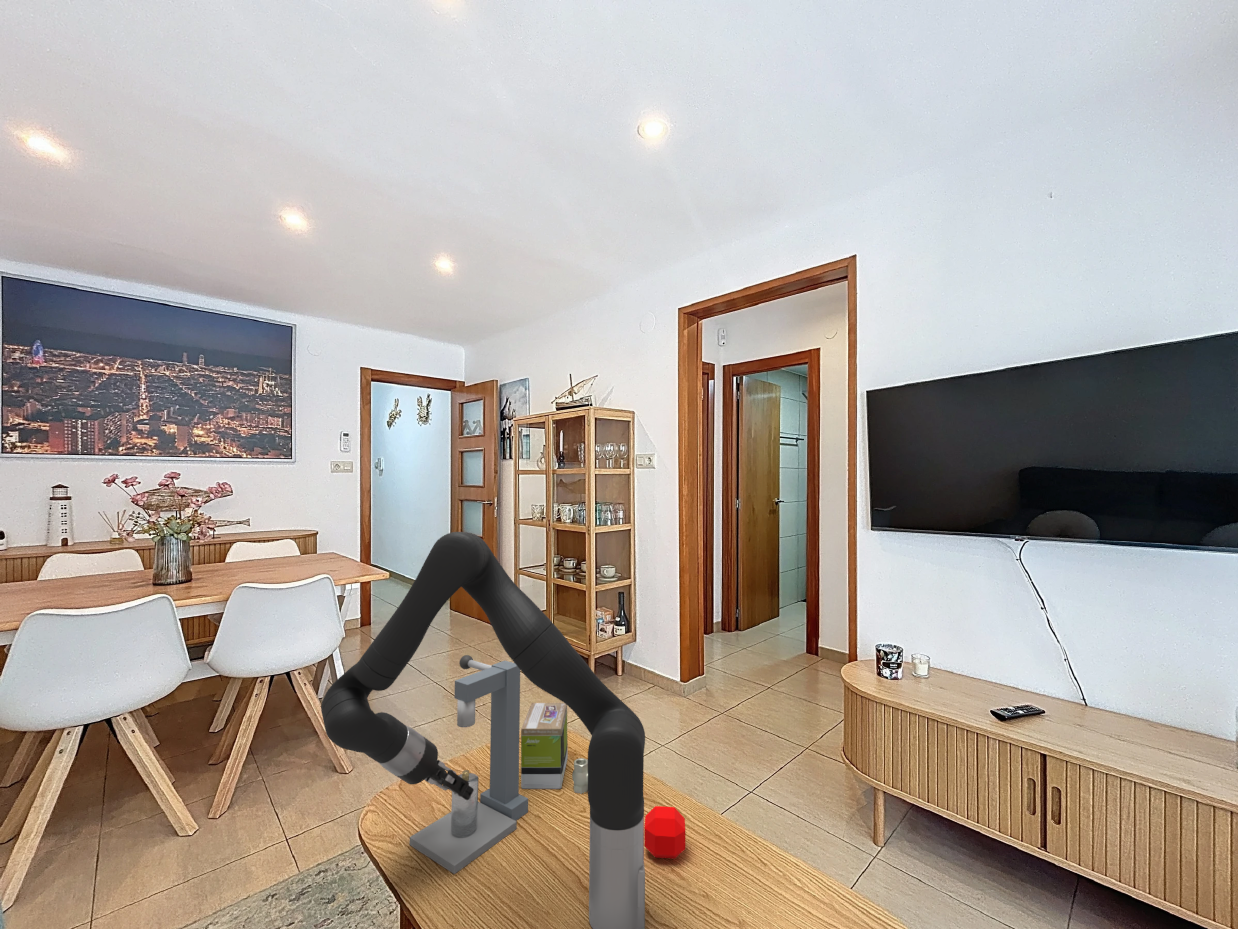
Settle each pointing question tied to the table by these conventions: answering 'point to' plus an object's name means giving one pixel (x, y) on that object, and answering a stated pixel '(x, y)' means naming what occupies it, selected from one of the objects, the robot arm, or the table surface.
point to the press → (503, 795)
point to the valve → (580, 775)
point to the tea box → (544, 746)
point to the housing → (465, 809)
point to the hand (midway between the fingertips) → (456, 787)
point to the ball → (664, 832)
